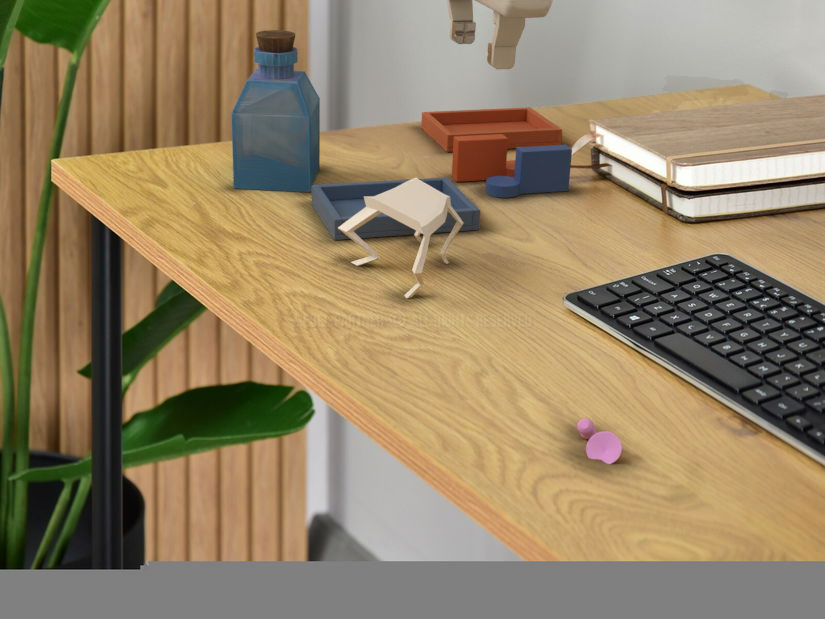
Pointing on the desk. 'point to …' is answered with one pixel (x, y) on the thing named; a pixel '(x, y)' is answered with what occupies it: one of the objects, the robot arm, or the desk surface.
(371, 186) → the blue tray
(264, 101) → the perfume bottle
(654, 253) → the desk surface
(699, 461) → the desk surface
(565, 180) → the blue block with disc
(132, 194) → the desk surface
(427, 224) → the origami figure
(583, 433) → the pink game pawn
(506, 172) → the red brick block
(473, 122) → the terracotta tray
